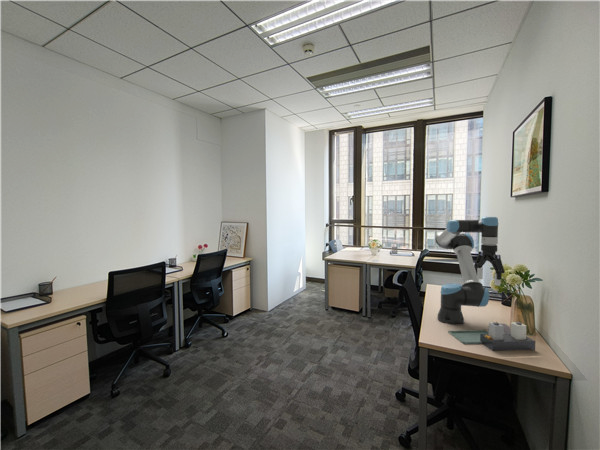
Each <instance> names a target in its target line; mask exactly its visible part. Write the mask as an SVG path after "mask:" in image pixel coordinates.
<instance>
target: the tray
mask: <svg viewBox="0 0 600 450" xmlns="http://www.w3.org/2000/svg"><path fill="white" fill-rule="evenodd" d="M448 334H450V335H451V336H452V337H454V338H455V339H456V340H457V341H459V342H460V343H461V344H463V345H483V344H482V341H480V334H489V330H486V329H474V330H473V329H467V330H466V329H464V330H462V329H461V330H459V329H457V330H448Z"/></svg>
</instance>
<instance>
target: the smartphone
mask: <svg viewBox="0 0 600 450" xmlns="http://www.w3.org/2000/svg"><path fill="white" fill-rule="evenodd" d="M498 323H499V322H498ZM499 324H501V325H502V326H504V329H503V334H504V333H511V329H510V327H511V326H509V325H508V324H507V323H499Z"/></svg>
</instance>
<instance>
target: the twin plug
mask: <svg viewBox="0 0 600 450" xmlns="http://www.w3.org/2000/svg"><path fill="white" fill-rule="evenodd" d="M503 329H504V326H502V325H501V324H499V322H497V321H493V322H488V332H489V336H490V337H492V339H493V340H503V334H504V333H503Z"/></svg>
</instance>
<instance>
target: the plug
mask: <svg viewBox="0 0 600 450" xmlns="http://www.w3.org/2000/svg"><path fill="white" fill-rule="evenodd" d="M510 327H511V337H513V338H515V339H517V340H526V336H527V325H526V324H523V323H522V322H520V321H514V322H510Z"/></svg>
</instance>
